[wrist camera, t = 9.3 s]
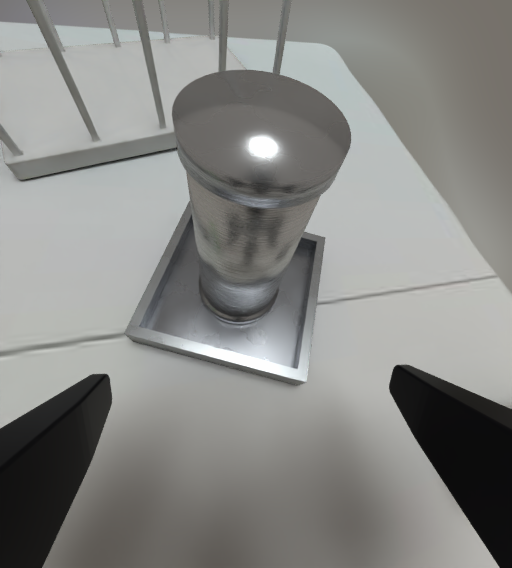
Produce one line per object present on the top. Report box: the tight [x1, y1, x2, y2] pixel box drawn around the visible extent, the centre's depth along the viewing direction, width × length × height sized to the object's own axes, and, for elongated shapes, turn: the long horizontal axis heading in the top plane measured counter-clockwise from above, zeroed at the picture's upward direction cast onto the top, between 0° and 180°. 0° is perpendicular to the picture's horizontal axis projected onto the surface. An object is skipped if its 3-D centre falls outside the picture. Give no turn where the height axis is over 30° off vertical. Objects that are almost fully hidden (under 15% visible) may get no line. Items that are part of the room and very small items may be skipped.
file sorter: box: [0, 0, 291, 180], centre depth 21 cm, size 25×17×16 cm
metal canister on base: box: [172, 70, 351, 324], centre depth 13 cm, size 6×6×12 cm
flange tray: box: [124, 201, 325, 385], centre depth 18 cm, size 11×11×2 cm
